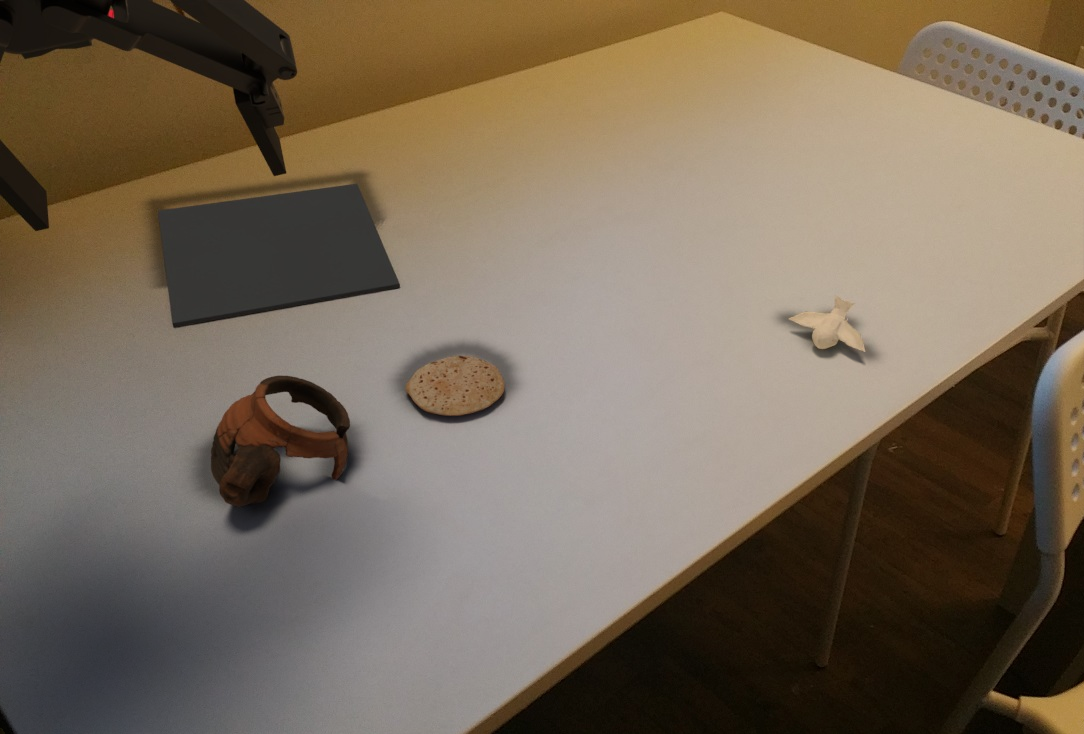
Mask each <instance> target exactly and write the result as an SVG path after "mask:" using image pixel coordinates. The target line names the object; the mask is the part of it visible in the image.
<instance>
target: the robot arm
mask: <svg viewBox="0 0 1084 734" xmlns="http://www.w3.org/2000/svg"><path fill="white" fill-rule="evenodd" d="M169 1H170V2H171V3H172V4H173V5H174V6H176V7H177V8H178V9H180V10H181V11H183V12H184V13H185V14H187V15H188V16H189V17H188V16H186V15H183V14H181V13H179V12H177V11H174V10H172V9H170V8H168V7H166V6H164V5H162V4H159V3H156V2H154V1H153V0H0V64H1V62H2V60H3V57H4V54H5V53H7V54H11V55H19V56H22V58H23V59H24V60H28V59H33V58H37V57H42V56H44V55H47V54H49V53H51V52H53V51H55V50H76V49H81V48H87V47H91V46H93V40H97V41H99V42H102V43H104V44H107V45H108V46H112V47H113V48H116V49H118V50H121V51H125V52H131V51H132V50H134V49H135V50H139V51H142V52H143V53H146V54H149V55H151V56H153V57H157V58H158V59H161V60H163V61H166V62H168V63H171V64H173V65H176V66H178V67H181V68H184V69H186V70H188V71H191V72H192V73H195V74H198V75H200V76H203V77H205V78H208V79H210V80H213V81H215V82H217V83H221V84H222V85H225V86H227V87H230V88H232V92H233V96H234V97H233V98H234V102H235V103H234V104H235V106H236V107H237V109H238V112H239V113H240V115H241V117H242V120H243V121H244V123H245V125H246V126H247V128H248V131H249V132H250V134H251V136H252V138H253V140H254V141H255V143H256V145H257V147H258V149H259V151H260V153H261V155H262V157H263V158H264V161H265V162H266V164H267V167H268V168H269V170H270V171H271V174H272V176H273V177H277V176H282V175H285V174H286V175H287V170H286V164H285V159H284V154H283V148H282V144H281V139H280V137H279V134H278V132H277V130H276V127H280V126H284V125H285V114H284V110H283V104H282V99H281V97H280V95H279V93H278V91H277V89H276V87H275V84H274V82H276V80H278V79H279V80H282V81H289V80H292V79H294V78H295V77H296V76H297V75H298V68H297V63H296V58H295V54H294V49H293V44H292V41H291V36H290V35H289V34H288V32H287V31H285V30H283V29H282V27H280V26H279V25H277V24H276V23H274V21H272V20H271V19H269V18H268V17H267V16H265V15H264V14H263V13H262V12H261V11H260V10H258V9H256V7H254V6H253V5H252V4H250V3H249V2H247V1H246V0H169ZM111 8H112V12H113V13H112V15H113V17H112V16H111V15H109V14H110V13H109V12H110V10H111ZM47 194H48V193H47V190H46V189H45V188H44V187H43V185H42V184H41V183H40V182H39V181H38V180H37V179H36V178H35V177H34V176H33V174H32V173H31V172H30V171H29V170H28V169H27V168H26V166H25V165H24V164H23V163H22V162H21V161H20V160H19V159H18V158H17V156H16V155H15V154H14V153H13V152H12V150H10V148H9V147H8V146H7V145H6V144H5V143H4V142H3V141H2V140H1V139H0V196H1V197H2V198H3V200H5V202H6V203H7V204H8V205H9V206H10V207H11V208H12V209H13V210H14V211H15V212H16V213H17V214H18V215H19V216H20V217H21V218H22V219H23V220H24V221H25V222H26V224H27V225H28V226H30V227H31V228H32V230H33V231H35V232H39V231H43V230H48V229H50V222H49V221H50V220H49V209H48V207H49V206H48V195H47Z"/></svg>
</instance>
